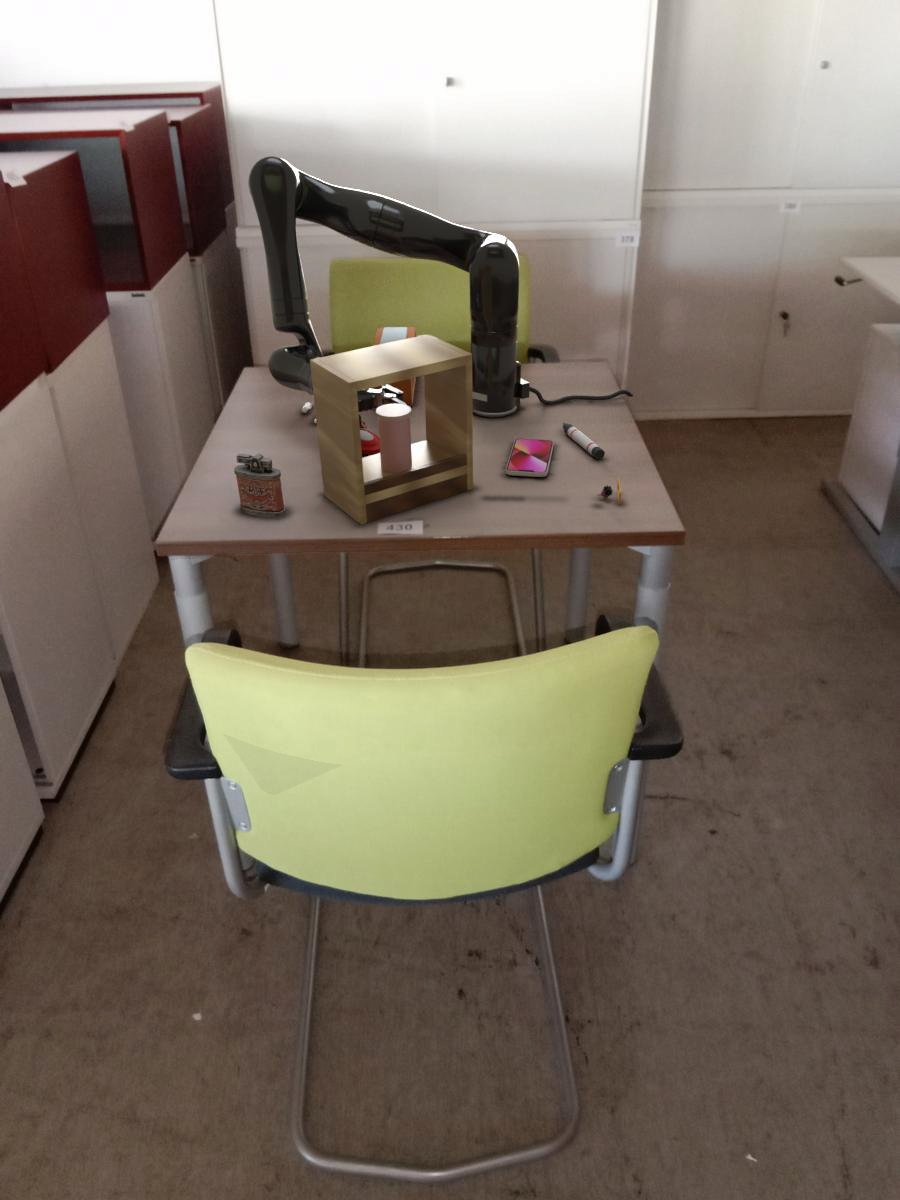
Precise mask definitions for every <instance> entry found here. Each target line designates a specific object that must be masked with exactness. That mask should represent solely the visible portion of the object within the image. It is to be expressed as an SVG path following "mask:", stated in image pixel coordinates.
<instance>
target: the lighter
mask: <svg viewBox="0 0 900 1200" xmlns="http://www.w3.org/2000/svg"><path fill="white" fill-rule="evenodd" d="M235 457H236V462H237V463H238V465H236V466H234V468H233V472H234V475H235V478H236V483H237V490H238V495H239V501H240V504H239V509H240V511H241V512H242V513H245V514H247V515H253V516H257V517H264V518H281V517H283V516H285V515H286V514H287V509H286V506H285V504H284V496H283V489H282V481H281V476H282V472H281V470H280V469H278V468H275V467H273V460H272V458H271V457H265V456H264V455H262V454H261V453H257V454H255V455H252V454H247V453H237V454H236V456H235Z"/></svg>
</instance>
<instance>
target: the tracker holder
mask: <svg viewBox="0 0 900 1200" xmlns="http://www.w3.org/2000/svg"><path fill="white" fill-rule="evenodd" d="M361 423H362V427H360V438H361V451H362V455H368V456H371V455H375V454H378V453H380V441H379V435H377V434H375V433H374V432H372V431H371V430H369V429H368V426H367V425H366V422H365V421H363V420H362V419H361ZM367 429H368V430H367Z"/></svg>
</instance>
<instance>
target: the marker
mask: <svg viewBox="0 0 900 1200" xmlns="http://www.w3.org/2000/svg"><path fill="white" fill-rule="evenodd" d="M562 429H563V432H564V434H566V435H567V436H568V437H569V438H571V439H572V440H573V441H574V442H575V443H576V444H578V445H579V446H580V447H582V449H584V450H585V451H586V452H587V453H588V454H590V455H591V456H592V457H593V458H595V459H596V460H602V459H603V458H604V457H605V450H603V448H601V447H600V446H599V445H598V444H597V443H596V442H594V441H593V440H592V439H590V438H589V437H588V436H587V435H585V434H584V433H583V431H580V429H578V428H577V427H576V426H574V425H572V424H571V423H566V422H562Z"/></svg>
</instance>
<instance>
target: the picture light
mask: <svg viewBox="0 0 900 1200" xmlns="http://www.w3.org/2000/svg"><path fill="white" fill-rule="evenodd" d="M313 404H315V403H314V401H312V402H309V401H306V402H305V403H304V405H303V406H302V408H301V412H302V413H303V414H307V413H308V411H309V410H311V409H312V408H313V406H312V405H313ZM313 422H314V424H317V422H316V418H315V419H314V420H313Z"/></svg>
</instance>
